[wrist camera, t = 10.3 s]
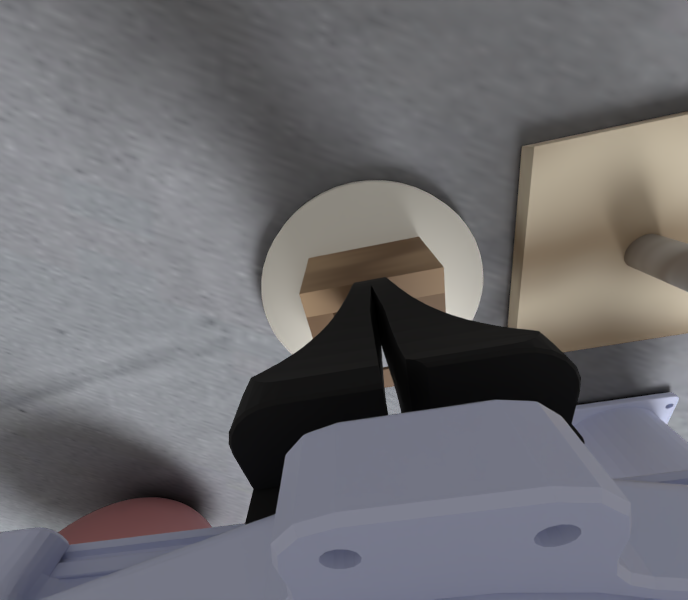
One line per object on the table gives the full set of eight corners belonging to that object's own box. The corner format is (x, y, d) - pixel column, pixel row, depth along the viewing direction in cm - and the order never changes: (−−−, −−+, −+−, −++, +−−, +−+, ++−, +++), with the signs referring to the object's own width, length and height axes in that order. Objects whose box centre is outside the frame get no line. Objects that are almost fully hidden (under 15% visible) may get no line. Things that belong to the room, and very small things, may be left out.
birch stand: (704, 318, 18) (835, 382, 14) (505, 350, 19) (561, 420, 14) (810, 85, 13) (1098, 52, 8) (521, 146, 14) (621, 149, 9)
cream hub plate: (474, 355, 19) (518, 426, 15) (297, 383, 20) (284, 458, 16) (477, 155, 14) (551, 164, 9) (233, 207, 15) (181, 240, 10)
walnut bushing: (418, 236, 15) (443, 267, 11) (426, 329, 17) (448, 377, 14) (308, 258, 15) (299, 294, 12) (332, 345, 18) (330, 395, 14)
